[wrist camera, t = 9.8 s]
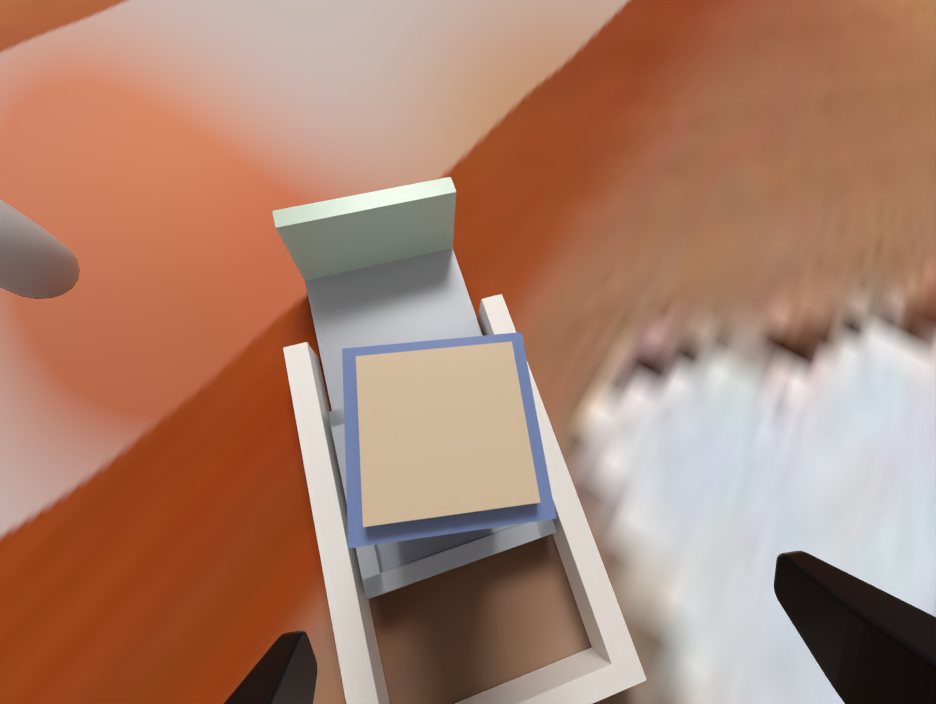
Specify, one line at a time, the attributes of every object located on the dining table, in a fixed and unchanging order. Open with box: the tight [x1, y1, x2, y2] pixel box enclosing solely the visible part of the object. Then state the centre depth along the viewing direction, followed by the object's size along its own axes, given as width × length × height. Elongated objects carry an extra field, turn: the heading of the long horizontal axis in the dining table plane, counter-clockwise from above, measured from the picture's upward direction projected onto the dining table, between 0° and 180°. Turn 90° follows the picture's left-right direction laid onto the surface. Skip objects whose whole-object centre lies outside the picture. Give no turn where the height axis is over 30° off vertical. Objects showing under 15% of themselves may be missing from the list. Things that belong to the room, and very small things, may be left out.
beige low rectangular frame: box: [283, 294, 646, 704], centre depth 21 cm, size 19×12×2 cm, turn 17°
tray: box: [273, 177, 557, 600], centre depth 22 cm, size 18×9×6 cm, turn 17°
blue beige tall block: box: [342, 332, 556, 549], centre depth 16 cm, size 5×5×12 cm
